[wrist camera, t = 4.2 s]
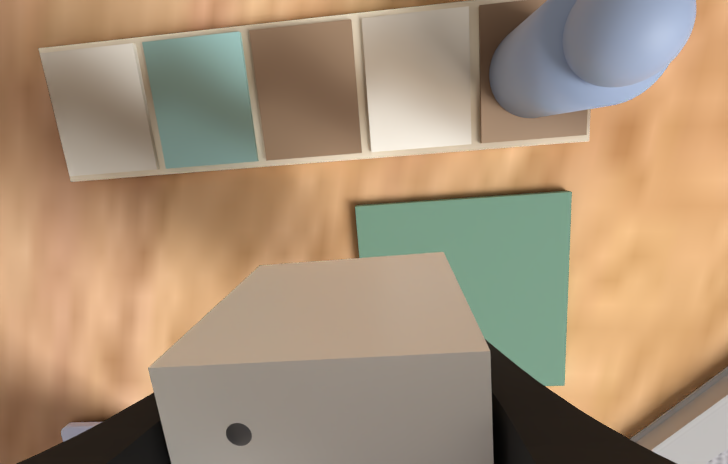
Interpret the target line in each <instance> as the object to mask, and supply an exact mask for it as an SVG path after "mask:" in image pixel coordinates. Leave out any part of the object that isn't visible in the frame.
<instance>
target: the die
mask: <svg viewBox="0 0 728 464" xmlns="http://www.w3.org/2000/svg"><path fill="white" fill-rule="evenodd" d="M148 370H149V374H150V378H151V382H152V386H153V390H154V395H155V399H156V403H157V407H158V411H159V415H160V419H161V423H162V427H163V432H164V436H165V440H166V444H167V448H168V452H169V456H170V460H171V464H494V458H493V424H492V389H491V354H490V349H489V347H488V345H487V343H486V341H485V339H484V336H483V334H482V332H481V330H480V328H479V326H478V324H477V322H476V320H475V317H474V315H473V313H472V311H471V309H470V307H469V305H468V303H467V301H466V298H465V296H464V294H463V292H462V290H461V288H460V286H459V284H458V282H457V279H456V277H455V275H454V273H453V271H452V269H451V267H450V265H449V262H448V260H447V258H446V256H445V254H444V252H435V253H422V254H408V255H394V256H381V257H367V258H353V259H340V260H326V261H312V262H299V263H285V264H271V265H260V266H259V267H257V268H256V269H255V270H254V271H253V272H252V273H251V274H250V275H249V276H248V277H247V278H246V279H244V280H243V281H242V282H241V283H240V284H239V285H238V286H237V287H236V288H235V289H234V290H232V291H231V292H230V293H229V294H228V295H227V296H226V297H225V298H224V299H223V300H222V301H220V302H219V303H218V304H217V305H216V306H215V307H214V308H213V309H212V310H211V311H210V312H209V313H207V314H206V315H205V316H204V317H203V318H202V319H201V320H200V321H199V322H198V323H197V324H195V325H194V326H193V327H192V328H191V329H190V330H189V331H188V332H187V333H186V334H185V335H183V336H182V337H181V338H180V339H179V340H178V341H177V342H176V343H175V344H174V345H173V346H172V347H170V348H169V349H168V350H167V351H166V352H165V353H164V354H163V355H162V356H161V357H160V358H158V359H157V360H156V361H155V362H154V363H153V364H152V365H151V366H150V367H149V368H148Z"/></svg>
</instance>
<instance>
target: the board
mask: <svg viewBox="0 0 728 464" xmlns="http://www.w3.org/2000/svg"><path fill="white" fill-rule="evenodd" d="M546 1H547V0H470V1H461V2H452V3H443V4H434V5H425V6H416V7H407V8H398V9H389V10H380V11H371V12H361V13H352V14H343V15H334V16H325V17H316V18H307V19H298V20H289V21H280V22H271V23H262V24H253V25H244V26H235V27H226V28H217V29H208V30H199V31H190V32H181V33H172V34H163V35H154V36H145V37H136V38H127V39H118V40H109V41H100V42H91V43H82V44H73V45H64V46H55V47H46V48H38V49H39V53H40V58H41V62H42V66H43V70H44V74H45V78H46V82H47V86H48V90H49V94H50V99H51V103H52V107H53V111H54V115H55V119H56V123H57V127H58V131H59V136H60V140H61V144H62V148H63V152H64V156H65V160H66V164H67V168H68V172H69V177H70V181H71V182H77V181H89V180H102V179H115V178H127V177H140V176H153V175H166V174H178V173H191V172H204V171H216V170H229V169H242V168H255V167H267V166H280V165H293V164H305V163H318V162H331V161H344V160H356V159H369V158H382V157H394V156H407V155H420V154H433V153H445V152H458V151H471V150H483V149H496V148H509V147H522V146H534V145H547V144H560V143H572V142H585V141H589V132H590V110H591V109H587V110H581V111H575V112H569V113H563V114H557V115H551V116H544V117H538V118H522V117H518V116H515V115H513V114H511V113H509V112H508V111H506V110H505V109H504V108H503V107H502V106H501V105H500V104H499V103H498V102H497V100H496V99H495V97H494V95H493V93H492V90H491V87H490V81H489V69H490V64H491V60H492V57H493V55H494V53H495V50H496V49H497V47H498V46H499V44H500V43H501V42H502V40H503V39H504V38H505V37H506V36H507V35H508V34H509V33H511V32H512V31H513V30H514V29H515V28H516V27H517V26H519V25H520V24H521V23H522V22H523V21H524V20H525V19H527V18H528V17H529V16H530V15H531V14H532V13H533V12H535V11H536V10H537V9H538V8H539V7H540V6H541V5H542V4H544V3H545V2H546Z"/></svg>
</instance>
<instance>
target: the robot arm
mask: <svg viewBox="0 0 728 464" xmlns="http://www.w3.org/2000/svg"><path fill="white" fill-rule="evenodd" d="M485 341H486V343H487V345H488V347H489V349H490V354H491V389H492V424H493V458H494V464H677V463H675V462H673V461H671V460H669V459H667V458H665V457H663V456H661V455H658V454H656V453H655V452H653V451H651V450H649V449H647V448H645V447H643V446H641V445H639V444H637V443H636V442H634V441H632V440H630V439H628V438H627V437H625V436H623V435H621V434H620V433H618V432H616V431H614V430H613V429H611V428H609V427H607V426H606V425H604V424H602V423H600V422H599V421H597V420H595V419H594V418H592V417H590V416H589V415H587V414H585V413H584V412H582V411H581V410H579V409H578V408H576V407H575V406H573V405H572V404H570V403H569V402H567V401H566V400H564V399H563V398H561V397H560V396H558V395H557V394H555V393H554V392H552V391H551V390H549V389H548V388H547V387H545V386H544V385H543V384H541V383H540V382H538V381H537V380H536V379H534V378H533V377H532V376H530V375H529V374H528V373H526V372H525V371H524V370H523V369H521V368H520V367H519V366H517V365H516V364H515V363H514V362H512V361H511V360H510V359H509V358H508V357H506V356H505V355H504V354H503V353H501V352H500V351H499V350H498V349H497V348H495V347H494V346H493V345H492V344H491V343H489V342H488V341H487V340H486V339H485ZM61 436H62V440H63V442H62V443H60V444H58V445H56V446H54V447H52V448H50V449H48V450H46V451H44V452H42V453H39V454H37V455H35V456H33V457H31V458H29V459H26V460H24V461H22V462H19V463H17V464H171V460H170V456H169V452H168V448H167V444H166V440H165V436H164V432H163V427H162V423H161V419H160V415H159V411H158V407H157V403H156V399H155V395H154V393H152V394H151V395H149V396H147V397H145V398H144V399H142V400H140V401H138V402H137V403H135V404H133V405H131V406H130V407H128V408H126V409H124V410H123V411H121V412H119V413H117V414H116V415H114V416H112V417H110V418H109V419H107V420H105V421H103V422H72V423H69V424H67V425H66V426H65V427H64V428H63V429H62V430H61Z"/></svg>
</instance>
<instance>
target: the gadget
mask: <svg viewBox="0 0 728 464" xmlns="http://www.w3.org/2000/svg"><path fill="white" fill-rule="evenodd" d="M630 440H632V441H634V442H636V443H637V444H639V445H641V446H643V447H645V448H647V449H649V450H651V451H653V452H655V453H656V454H658V455H661V456H663V457H665V458H667V459H669V460H671V461H673V462H675V463H677V464H728V366H727V367H726V368H725V369H723V370H722V371H721V372H719V373H718V374H717V375H715V376H714V377H713V378H711V379H710V380H708V381H707V382H706V383H704V384H703V385H702V386H700V387H699V388H698V389H696V390H695V391H694V392H692V393H691V394H690V395H688V396H687V397H686V398H684V399H683V400H682V401H680V402H679V403H678V404H676V405H675V406H674V407H672V408H671V409H669V410H668V411H667V412H665V413H664V414H663V415H661V416H660V417H659V418H657V419H656V420H655V421H653V422H652V423H651V424H649V425H648V426H647V427H645V428H644V429H643V430H641V431H640V432H639V433H637V434H636V435H634V436H633V437H632V438H630Z"/></svg>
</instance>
